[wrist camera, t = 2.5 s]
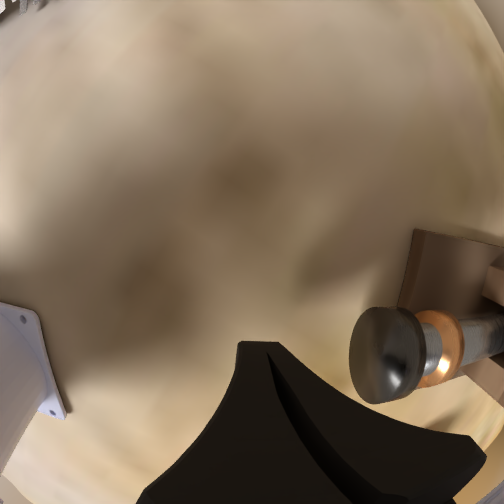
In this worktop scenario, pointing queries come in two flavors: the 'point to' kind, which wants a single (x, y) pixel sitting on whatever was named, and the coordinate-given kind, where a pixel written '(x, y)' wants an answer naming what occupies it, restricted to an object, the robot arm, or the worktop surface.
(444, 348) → the shaft
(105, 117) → the worktop surface
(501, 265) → the bearing housing
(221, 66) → the worktop surface
